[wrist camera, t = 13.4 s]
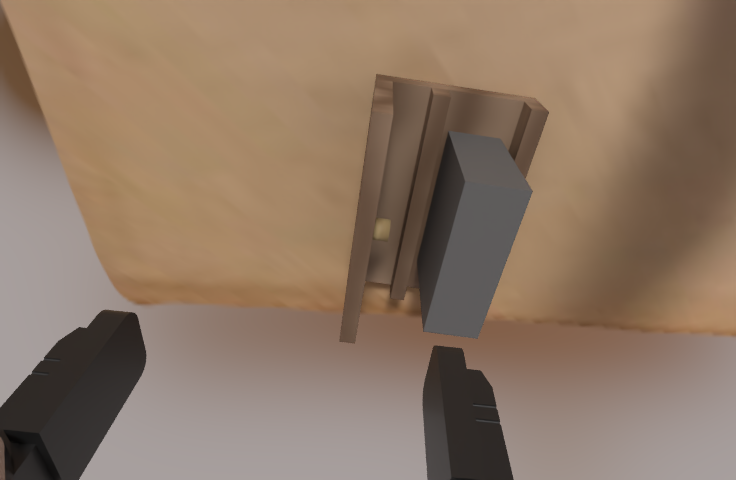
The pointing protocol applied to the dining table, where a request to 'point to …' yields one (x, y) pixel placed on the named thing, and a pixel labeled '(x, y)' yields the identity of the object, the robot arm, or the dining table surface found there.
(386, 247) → the picture ledge
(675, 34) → the dining table surface
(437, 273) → the mini frame
